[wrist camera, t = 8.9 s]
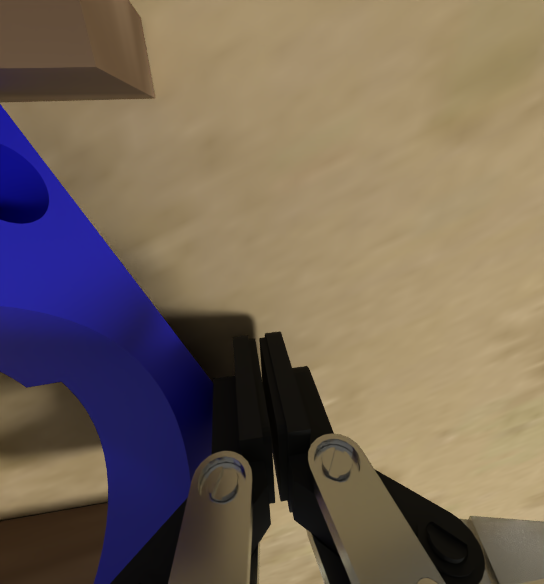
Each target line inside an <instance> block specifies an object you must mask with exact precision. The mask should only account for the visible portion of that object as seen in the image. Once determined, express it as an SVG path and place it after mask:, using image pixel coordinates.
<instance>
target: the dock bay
mask: <svg viewBox="0 0 544 584" xmlns="http://www.w3.org/2000/svg"><path fill="white" fill-rule="evenodd" d="M149 98H155V93H154V88H153V82H152V77H151V71H150V66H149V60H148V55H147V49H146V44H145V38H144V33H143V27H142V22H141V17H140V16H139V14H138V13H137V12H136V10H135V9H134V7H133V6H132V4H131V3H130V1H129V0H0V102H31V101H71V100H110V99H149ZM107 512H108V503H103V504H98V505H92V506H86V507H80V508H74V509H69V510H63V511H57V512H51V513H45V514H40V515H34V516H28V517H22V518H16V519H11V520H5V521H0V584H94V581H95V577H96V574H97V570H98V566H99V562H100V557H101V553H102V549H103V543H104V537H105V531H106V523H107Z"/></svg>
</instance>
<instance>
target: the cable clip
mask: <svg viewBox="0 0 544 584" xmlns="http://www.w3.org/2000/svg"><path fill="white" fill-rule="evenodd" d="M0 372H2V373H4V374H6V375H8V376H9V377H11V378H13V379H14V380H16V381H18V382H19V383H21V384H22V385H24V386H25V387H26V388H27V387H33V386H39V385H44V384H50V383H56V382H62V383H63V384H64V385H66V386H67V387H68V388H69V389H70V391H71V392H72V393H73V394H74V395H75V396H76V397H77V398H78V399H79V401H80V402H81V404H82V405H83V406H84V408H85V409H86V411H87V412H88V414H89V416H90V418H91V420H92V421H93V423H94V425H95V428H96V430H97V433H98V435H99V438H100V441H101V444H102V448H103V452H104V456H105V462H106V468H107V478H108V512H107V523H106V531H105V537H104V543H103V549H102V553H101V557H100V562H99V566H98V570H97V574H96V577H95V581H94V584H110V583H111V582H112V581H113V580H114V579H115V577H116V576H117V575H118V574H119V573H120V572H121V571H122V570H123V569H124V567H125V566H126V565H127V564H128V563H129V562H130V561H131V560H132V559H133V557H134V556H135V555H136V554H137V553H138V552H139V551H140V550H141V549H142V547H143V546H144V545H145V544H146V543H147V542H148V541H149V540H150V539H151V537H152V536H153V535H154V534H155V533H156V532H157V531H158V530H159V529H160V527H161V526H162V525H163V524H164V523H165V522H166V521H167V520H168V519H169V517H170V516H171V515H172V514H173V513H174V512H175V511H176V510H177V509H178V507H179V506H180V505H181V504H182V503H183V502H184V501H185V500H186V499H187V497H188V494H189V490H190V485H191V481H192V478H193V475H194V473H195V470H196V469H197V468H198V466H199V465H200V463H201V462H202V461H204V460H205V459H206V458H207V457H208V456H210V455H211V452H212V413H213V382H212V381H211V380H210V378H209V377H208V376H207V374H206V373H205V372H204V371H203V369H202V368H201V367H200V365H199V364H198V363H197V361H196V360H195V359H194V357H193V356H192V355H191V353H190V352H189V351H188V350H187V348H186V347H185V346H184V344H183V343H182V342H181V340H180V339H179V338H178V336H177V335H176V334H175V333H174V331H173V330H172V329H171V327H170V326H169V325H168V323H167V322H166V321H165V319H164V318H163V317H162V315H161V314H160V313H159V312H158V310H157V309H156V308H155V306H154V305H153V304H152V302H151V301H150V300H149V298H148V297H147V296H146V295H145V293H144V292H143V291H142V289H141V288H140V287H139V285H138V284H137V283H136V281H135V280H134V279H133V278H132V276H131V275H130V274H129V272H128V271H127V270H126V268H125V267H124V266H123V264H122V263H121V262H120V260H119V259H118V258H117V257H116V255H115V254H114V253H113V251H112V250H111V249H110V247H109V246H108V245H107V243H106V242H105V241H104V240H103V238H102V237H101V236H100V234H99V233H98V232H97V230H96V229H95V228H94V226H93V225H92V224H91V222H90V221H89V220H88V219H87V217H86V216H85V215H84V213H83V212H82V211H81V209H80V208H79V207H78V205H77V204H76V203H75V202H74V200H73V199H72V198H71V196H70V195H69V194H68V192H67V191H66V190H65V188H64V187H63V186H62V185H61V183H60V182H59V181H58V179H57V178H56V177H55V175H54V174H53V173H52V171H51V170H50V169H49V167H48V166H47V165H46V164H45V162H44V161H43V160H42V158H41V157H40V156H39V154H38V153H37V152H36V150H35V149H34V148H33V147H32V145H31V144H30V143H29V141H28V140H27V139H26V137H25V136H24V135H23V133H22V132H21V131H20V129H19V128H18V127H17V126H16V124H15V123H14V122H13V120H12V119H11V118H10V116H9V115H8V114H7V112H6V111H5V110H4V109H3V107H2V106H1V105H0Z"/></svg>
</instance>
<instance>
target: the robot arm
mask: <svg viewBox="0 0 544 584" xmlns="http://www.w3.org/2000/svg"><path fill="white" fill-rule="evenodd" d="M233 348H234V364H235V376H231V377H223V378H216V379H214V381H213V413H212V452H211V455H210V456H208V457H207V458H206V459H205V460H204V461H202V462H201V463H200V465H199V466H198V468H197V469H196V470H195V473H194V475H193V478H192V481H191V485H190V490H189V494H188V497H187V499H186V500H185V501H184V502H183V503H182V504H181V505H180V506H179V507H178V509H177V510H176V511H175V512H174V513H173V514H172V515H171V516H170V517H169V519H168V520H167V521H166V522H165V523H164V524H163V525H162V526H161V527H160V529H159V530H158V531H157V532H156V533H155V534H154V535H153V536H152V537H151V539H150V540H149V541H148V542H147V543H146V544H145V545H144V546H143V547H142V549H141V550H140V551H139V552H138V553H137V554H136V555H135V556H134V557H133V559H132V560H131V561H130V562H129V563H128V564H127V565H126V566H125V567H124V569H123V570H122V571H121V572H120V573H119V574H118V575H117V576H116V577H115V579H114V580H113V581H112V582H111V583H110V584H259V559H260V540H261V539H262V537H263V536H264V534H265V533H266V531H267V529H268V528H269V526H270V525H271V520H270V507H269V504H270V503H275V491H274V474H273V459H274V465H275V471H276V477H277V483H278V489H279V495H280V500H281V501H286V500H287V501H288V506H289V511H290V512H293V517H294V520H295V521H296V522H298V523H299V524H300V525H302V526H303V527H304V528H305V529H306V530H307V535H308V538H309V541H310V544H311V546H312V549H313V552H314V555H315V558H316V561H317V563H318V566H319V569H320V572H321V575H322V578H323V580H324V583H325V584H544V522H542V521H529V520H517V519H504V518H491V517H478V516H470V517H469V519H468V520H466V519H458V518H457V517H456V516H454V515H453V514H452V513H450V512H448V511H446V510H445V509H443V508H441V507H439V506H438V505H436V504H434V503H432V502H431V501H429V500H427V499H425V498H424V497H422V496H420V495H419V494H417V493H415V492H413V491H412V490H410V489H408V488H406V487H405V486H403V485H401V484H399V483H398V482H396V481H394V480H392V479H391V478H389V477H387V476H385V475H384V474H382V473H380V472H378V471H377V470H375V469H374V468H373V466H372V465H371V463H370V462H369V460H368V458H367V457H366V455H365V454H364V452H363V450H362V449H361V448H360V447H359V445H358V444H357V443H356V442H354V441H353V440H351V439H350V438H348V437H346V436H343V435H341V434H334V433H333V430H332V427H331V425H330V422H329V420H328V417H327V414H326V412H325V409H324V406H323V404H322V401H321V399H320V396H319V393H318V391H317V388H316V385H315V383H314V380H313V378H312V375H311V372H310V370H309V368H308V367H307V366H304V367H297V368H292V367H291V363H290V360H289V357H288V354H287V350H286V347H285V344H284V341H283V337H282V334H281V332H272V333H265V338H260V354H261V369H262V377H261V371H260V366H259V360H258V354H257V348H256V342H255V339H249V337H248V335H247V336H239V337H233ZM272 453H273V456H272Z"/></svg>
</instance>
